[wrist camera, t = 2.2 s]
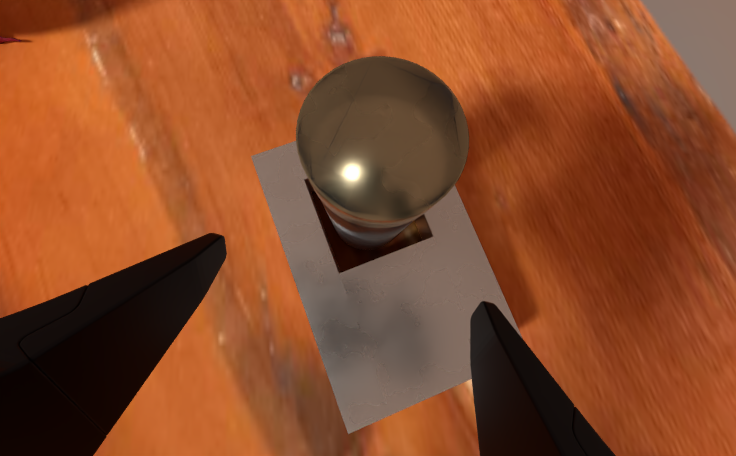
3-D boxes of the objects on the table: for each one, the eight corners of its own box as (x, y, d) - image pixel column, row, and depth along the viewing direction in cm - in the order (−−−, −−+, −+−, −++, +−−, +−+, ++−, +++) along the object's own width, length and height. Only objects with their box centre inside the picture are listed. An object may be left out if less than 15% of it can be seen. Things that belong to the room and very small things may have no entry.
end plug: (346, 261, 21) (331, 246, 8) (322, 197, 21) (272, 86, 8) (411, 236, 21) (496, 183, 8) (385, 174, 22) (428, 36, 9)
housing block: (349, 408, 19) (348, 433, 16) (265, 172, 21) (251, 156, 18) (503, 341, 20) (528, 353, 17) (409, 122, 22) (417, 99, 20)
